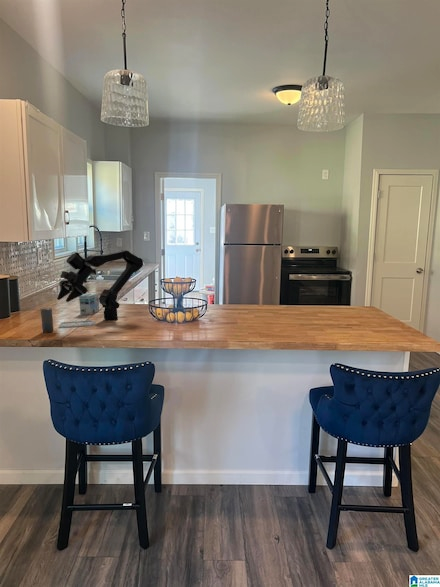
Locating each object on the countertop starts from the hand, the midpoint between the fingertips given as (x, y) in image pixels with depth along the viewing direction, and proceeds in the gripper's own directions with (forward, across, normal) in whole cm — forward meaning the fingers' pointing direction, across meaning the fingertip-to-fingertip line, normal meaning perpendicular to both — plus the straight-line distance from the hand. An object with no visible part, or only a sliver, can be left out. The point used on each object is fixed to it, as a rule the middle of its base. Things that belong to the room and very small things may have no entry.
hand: (62, 300), depth 200 cm
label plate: (+4, -3, +15) cm, 16 cm away
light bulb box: (-10, -25, +29) cm, 40 cm away
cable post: (+16, 0, +4) cm, 16 cm away
